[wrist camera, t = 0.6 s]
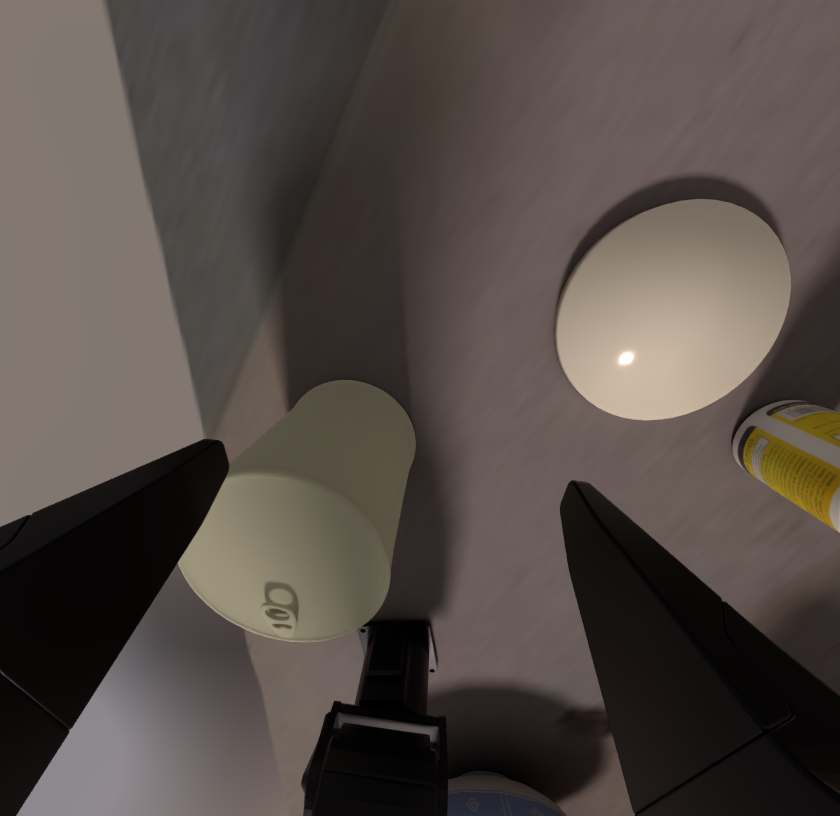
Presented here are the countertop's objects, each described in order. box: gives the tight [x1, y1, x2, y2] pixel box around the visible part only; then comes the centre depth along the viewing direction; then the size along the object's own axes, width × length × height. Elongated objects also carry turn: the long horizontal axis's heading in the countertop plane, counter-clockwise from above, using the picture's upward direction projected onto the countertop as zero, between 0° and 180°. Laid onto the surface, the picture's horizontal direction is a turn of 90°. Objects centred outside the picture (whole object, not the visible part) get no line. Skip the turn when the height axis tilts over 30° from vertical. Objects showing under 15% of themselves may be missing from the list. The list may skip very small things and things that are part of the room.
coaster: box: [553, 199, 791, 420], centre depth 20 cm, size 12×12×1 cm
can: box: [178, 380, 416, 642], centre depth 20 cm, size 9×9×12 cm
